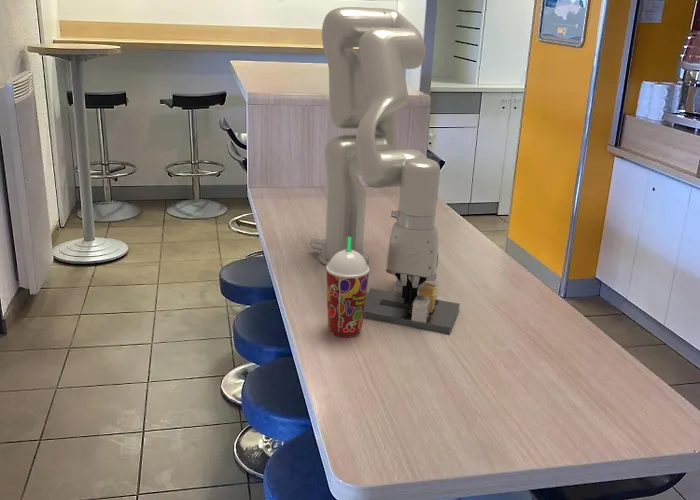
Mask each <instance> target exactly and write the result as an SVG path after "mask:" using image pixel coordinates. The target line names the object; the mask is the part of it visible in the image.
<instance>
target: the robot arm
mask: <svg viewBox="0 0 700 500" xmlns="http://www.w3.org/2000/svg"><path fill="white" fill-rule="evenodd" d="M321 41H322V47H323V50H324V54H325V59H326V62H327V66H328V89H329V90H328V91H329V92H328V95H329V112H330V120H331V122H332V124H333V126H335V128H339V129H345V130H346V129H349V130H353V129H354V130H355V129H357V130H356V133H354V134H353V133H352V134H343V135H337V136H334V137H332V138H331V139H329V140H328V141H327V143H326V144H325V148H324V161H325V167H326V168H325V169H326V177H327V179H326V184H327V186H326V187H327V188H326V189H327V192H326V193H327V195H326V217H325V218H326V220H325V221H326V222H325V224H326V225H325V238H323V239H318V238H310V241H309V244H310V246H311V248H310V249H312V250H319V251H320V252H319V253H318V261H319V262H320V263H322V265H325V266H327V265H328V263H329V262H330V260H331V259H332V257H333V256H334V255H335V254H336V253H338V252H339V251H342V250H347V246H348V237H351V250H354V251H356V252H358V253H360V254H361V255H362V256H363V257H364V259H365V261H366V263H367V264H368V263H369V259H370V258H369V257H370V256H369V254H368V253H367V252H365V250H364V239H365V238H364V236H365V223H366V221H365V220H366V208H367V207H366V206H367V205H366V204H367V192H366V189H365V186H364V185H363V183H362V182H361V181H360V179H359V176H361V177H362V178H361V179H362V181H363V182H364V184H365V185H367V186H368V187H370V188H372V189H383V188H386V189H387V188H395V187H400V189H399V200H398V209H397V210H392V211H391V213H390V217H391V218H394V219H396V220H395V221H396V222H395V223H393V225H392V229H391V231H390V232H391V233H390V236H389V243H388V248H387V254H386V269H385V272H386V274H389V275H391V276H395V278H396V279H397V278H398V279H399V281H400V282H401V285H402V286H403V288H402V298H404V304H407V303H408V304H409V305H411V304H412V303H413V301H414V300H415V298H416V297H417V292H418V286H419V285H420V284H422V283H423V282H425V281H435V280H436V281H437V279H438V271H437V268H438V265H439V231H438V230H439V229H438V227H437V226H436V217H437V216H436V215H437V207H438V206H437V204H438V196H439V185H440V178H441V177H440V174H441V167H440V163H439V162H437V161H436V160H433V159H432V158H428V157H427V155H425V154H424V153H423V152H422V151H420V150H418V149H412V148H409V149H397V147H398V145H397V144H398V143H397V141H398V139H397V136H398V135H397V132H398V131H397V130H398V129H397V127H398V126H397V125H398V124H397V123H398V121H397V113H398V112H397V111H398V110H399V109H402V108H403V107H404V106H405V105H406V104H407V103H408V101H409V99H410V98H409V97H410V96H409V91H408V88H407V87H408V86H407V81H406V75H405V70H415V69H417V68H419V67H420V66H421V65H422V64H423V63H424V60H425V58H426V44H425V40H424V37H423V36H422V34H421V32H420V31H419V30H418V28H417V27H416V26H415V25H414V24H413V23H412V22H411V21H409V20H408V19H407V18H406V17H404V16H403V14H401V12H398V11H397V10H395V9H391V8H381V7H380V8H379V7H378V8H377V7H361V6H343V7H338V8H334V9H331V10H330V11H328V12H327V14H326V15H325V17H324V20H323V22H322V27H321ZM354 48H358V52H359V53H358V52H357V51H356V50H355V49H354ZM409 275H411V276H414V279H413V282H412V283H411V282H410V280H409Z"/></svg>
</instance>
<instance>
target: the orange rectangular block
mask: <svg viewBox="0 0 700 500" xmlns="http://www.w3.org/2000/svg"><path fill="white" fill-rule="evenodd" d="M419 295H420V296H426V297H429V299H431V301H430V311H429V312H430V313H432V311H433V309H434V307H435V298H436V290H435V288H434V287H429V286H423V288H422V289H421V291H420V293H419Z"/></svg>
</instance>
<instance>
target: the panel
mask: <svg viewBox="0 0 700 500" xmlns="http://www.w3.org/2000/svg"><path fill="white" fill-rule="evenodd" d="M423 286H429V287H434V288H435V290H436V298H435V307H434V309H433V311H432V313H430V312H429V311H430V301H431V299H429V297H426V296H420V295H417V297H416V298H415V300H414V301H413V303H412V304H411V305H409V304H408V303H407V304H404V298H402V293H399V292H397V291H395V292H394V291H389V290H384V289H380V288H379V289H377V288H373V287H370V289H369V290H368V292H366V299H365V307H364V314H363V319H366V320H372V321H378V322H382V323H388V324H394V325H398V326H403V327H409V328H413V329H414V328H415V329H420V330H425V331H430V332H431V331H432V332H435V333H442V334H447V335H450V334H451V331H452V329H453V326H454V324H455V323H456V322H455V321H456V319H457V316H458V314H459V311H460V307H461V306H460V303H457V302H453V301H446V300H440V299H438V294H439V293H438V292H439V282H438V280H437V279H436V280H435V281H425V282H424V284H423ZM423 286H422V288H423Z"/></svg>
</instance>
